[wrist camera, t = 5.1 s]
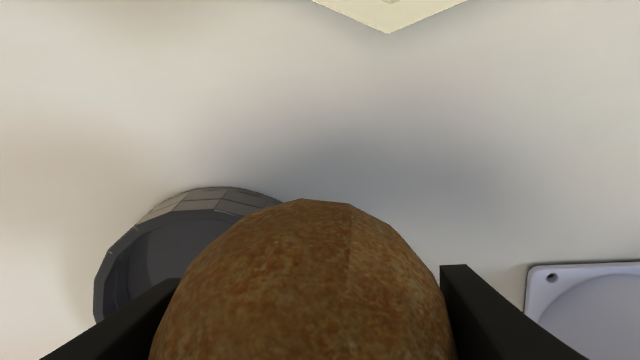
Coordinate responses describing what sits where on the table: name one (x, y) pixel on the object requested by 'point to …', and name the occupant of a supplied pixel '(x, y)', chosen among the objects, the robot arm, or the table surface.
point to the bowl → (168, 242)
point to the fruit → (306, 292)
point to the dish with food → (388, 11)
